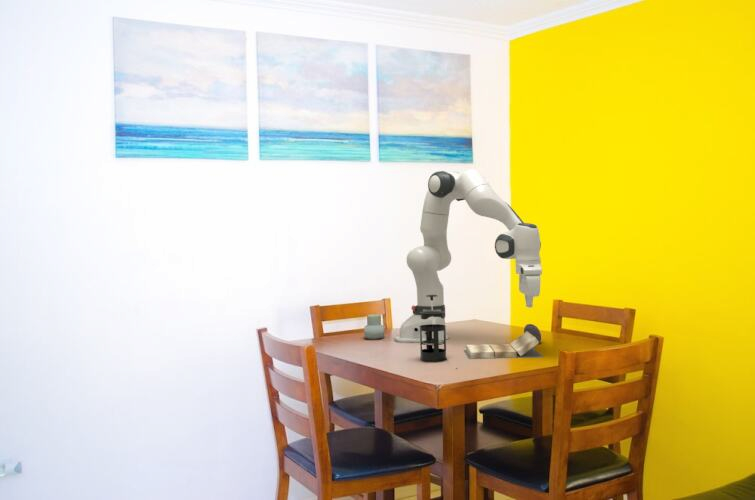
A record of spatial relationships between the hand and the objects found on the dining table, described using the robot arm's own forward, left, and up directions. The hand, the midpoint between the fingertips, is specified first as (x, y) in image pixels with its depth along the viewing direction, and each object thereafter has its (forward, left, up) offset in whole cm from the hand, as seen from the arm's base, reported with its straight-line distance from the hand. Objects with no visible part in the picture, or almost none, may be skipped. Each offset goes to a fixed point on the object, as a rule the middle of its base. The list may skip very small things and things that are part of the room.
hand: (529, 307), depth 251 cm
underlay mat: (-10, 0, -17) cm, 20 cm away
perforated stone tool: (+6, +24, -18) cm, 30 cm away
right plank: (-2, 0, -14) cm, 14 cm away
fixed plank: (-10, 0, -16) cm, 19 cm away
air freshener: (-57, +47, -18) cm, 76 cm away
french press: (-35, -4, -17) cm, 39 cm away
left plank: (-18, 0, -16) cm, 24 cm away
